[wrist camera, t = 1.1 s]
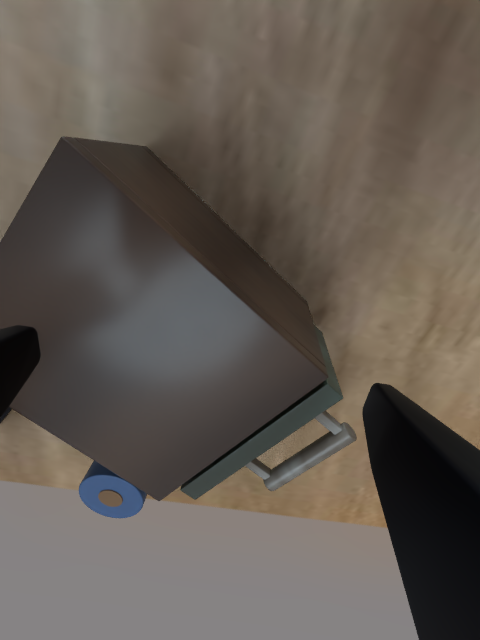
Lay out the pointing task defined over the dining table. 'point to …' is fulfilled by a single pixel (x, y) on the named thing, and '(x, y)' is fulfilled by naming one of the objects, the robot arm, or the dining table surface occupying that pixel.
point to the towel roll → (110, 493)
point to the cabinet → (147, 317)
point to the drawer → (277, 431)
